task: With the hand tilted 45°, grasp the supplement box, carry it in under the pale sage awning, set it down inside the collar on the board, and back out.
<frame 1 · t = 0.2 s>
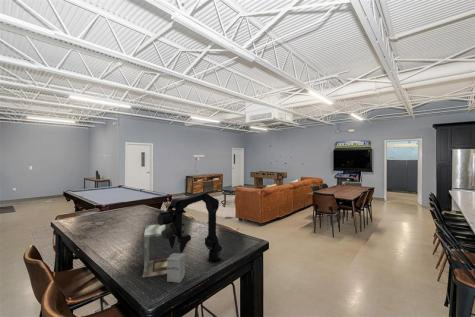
hand: (176, 250, 125), 15 cm above the table, tool pointing down, fingers open, 9 cm apart
supplement box: (176, 279, 123), on the table
awning stand: (163, 266, 136), on the table
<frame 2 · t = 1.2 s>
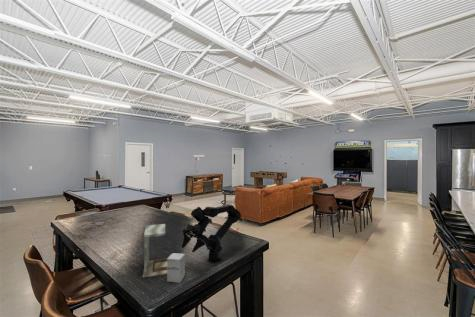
hand: (187, 249, 129), 13 cm above the table, tool tilted 45°, fingers open, 9 cm apart
nothing on the table moved.
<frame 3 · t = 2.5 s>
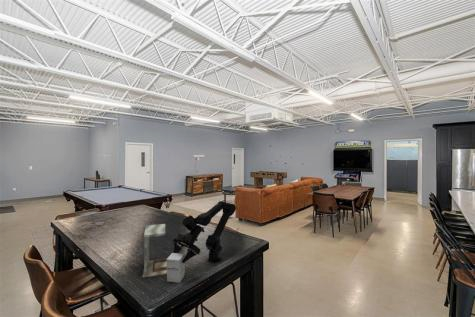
hand: (177, 260, 124), 10 cm above the table, tool tilted 45°, fingers open, 9 cm apart
supplement box: (176, 278, 123), on the table, touching gripper
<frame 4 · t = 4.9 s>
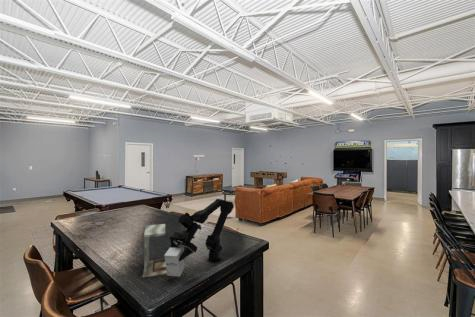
hand: (174, 258, 122), 12 cm above the table, tool tilted 45°, fingers closed on supplement box, 9 cm apart
supplement box: (176, 272, 124), point 3 cm above the table, touching gripper
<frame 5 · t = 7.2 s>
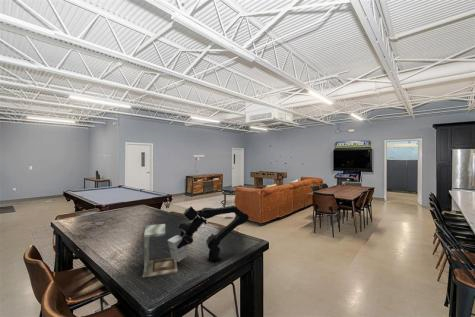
hand: (177, 245, 138), 12 cm above the table, tool tilted 45°, fingers closed on supplement box, 9 cm apart
supplement box: (179, 257, 139), point 4 cm above the table, touching gripper
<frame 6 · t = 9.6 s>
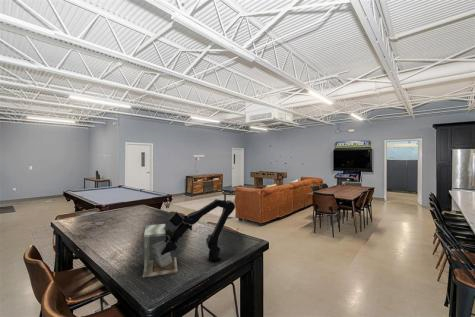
hand: (161, 251, 136), 10 cm above the table, tool tilted 45°, fingers closed on supplement box, 9 cm apart
supplement box: (164, 263, 137), point 2 cm above the table, touching awning stand, gripper
when the fingers open (10 cm above the table, at t = 11.5 s): supplement box stays where it is, resting on awning stand.
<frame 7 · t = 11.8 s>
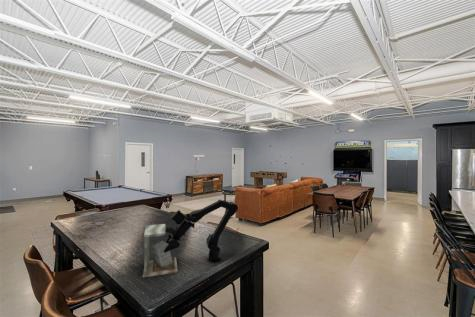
hand: (164, 249, 136), 11 cm above the table, tool tilted 45°, fingers open, 9 cm apart
supplement box: (164, 264, 137), point 1 cm above the table, touching awning stand
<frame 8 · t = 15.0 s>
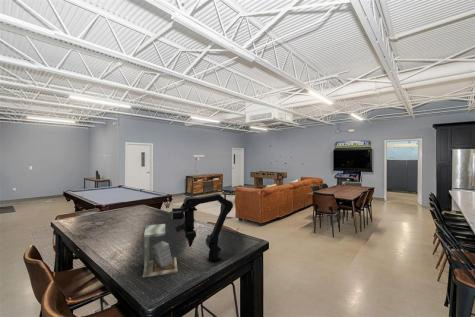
hand: (189, 243, 139), 13 cm above the table, tool pointing down, fingers open, 9 cm apart
nothing on the table moved.
at the end: supplement box 0.6 cm off-centre on the awning stand, point 1.4 cm above the awning stand's base; supplement box tilted 13°; the gripper is holding nothing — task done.
